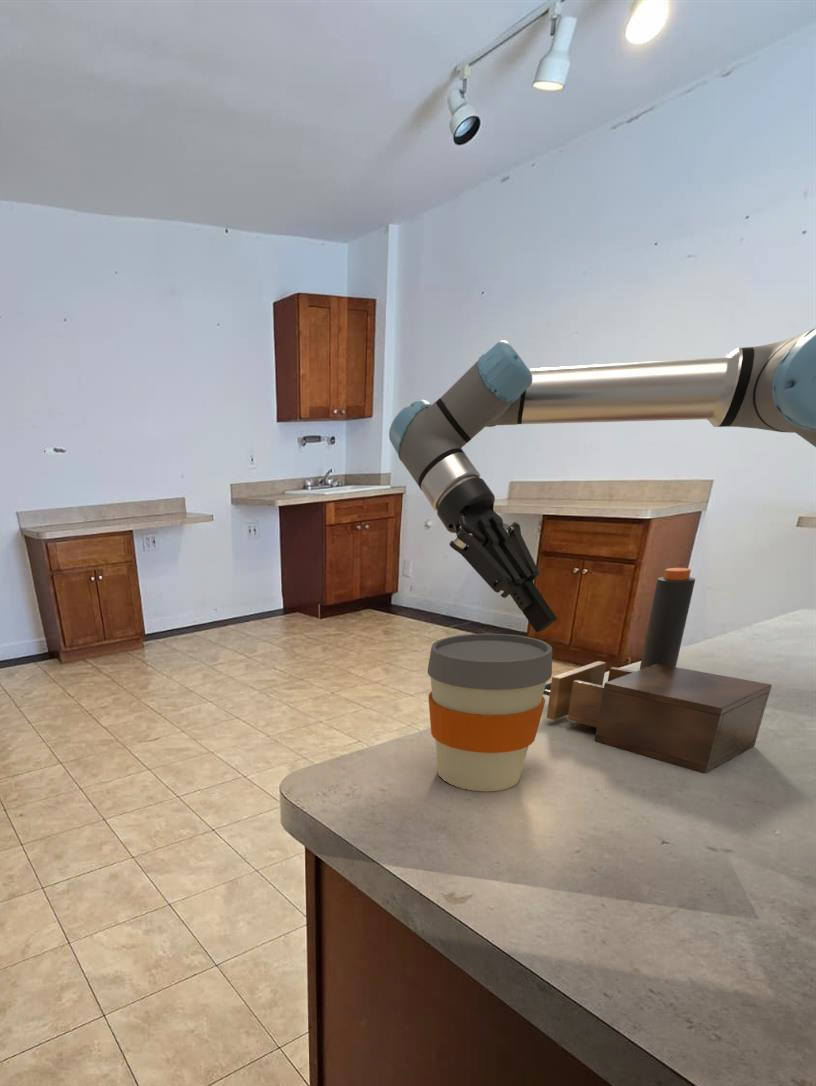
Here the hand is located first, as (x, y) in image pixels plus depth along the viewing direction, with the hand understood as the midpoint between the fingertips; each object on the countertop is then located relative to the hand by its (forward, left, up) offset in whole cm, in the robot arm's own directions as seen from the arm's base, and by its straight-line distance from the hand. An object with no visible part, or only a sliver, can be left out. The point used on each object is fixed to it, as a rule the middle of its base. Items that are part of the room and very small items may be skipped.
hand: (546, 625), depth 87 cm
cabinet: (-14, +12, -12) cm, 22 cm away
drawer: (-7, +6, -11) cm, 14 cm away
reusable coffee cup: (+8, +24, -12) cm, 28 cm away
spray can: (-15, -4, -12) cm, 20 cm away
